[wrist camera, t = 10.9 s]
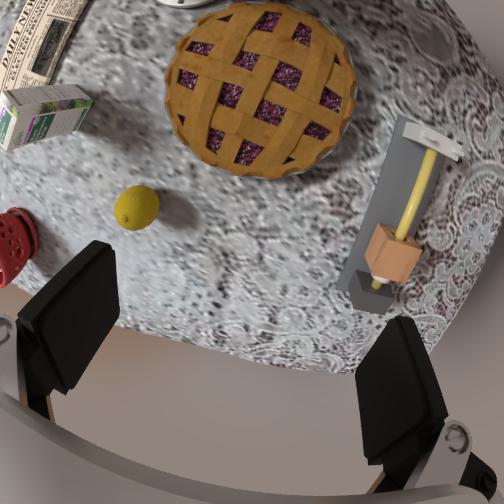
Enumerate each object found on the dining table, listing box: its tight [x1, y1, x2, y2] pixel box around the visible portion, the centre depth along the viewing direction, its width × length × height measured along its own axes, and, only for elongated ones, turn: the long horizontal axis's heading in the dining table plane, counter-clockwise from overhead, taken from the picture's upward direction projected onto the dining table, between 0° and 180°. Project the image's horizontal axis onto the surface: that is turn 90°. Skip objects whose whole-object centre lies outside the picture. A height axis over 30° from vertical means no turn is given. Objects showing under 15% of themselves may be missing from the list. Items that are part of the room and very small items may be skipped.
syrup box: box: [0, 84, 94, 151], centre depth 26 cm, size 6×6×14 cm
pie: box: [164, 1, 359, 180], centre depth 28 cm, size 22×22×5 cm
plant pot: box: [0, 207, 38, 288], centre depth 39 cm, size 13×13×12 cm
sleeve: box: [364, 223, 422, 284], centre depth 33 cm, size 5×5×5 cm
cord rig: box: [336, 115, 464, 315], centre depth 32 cm, size 26×8×7 cm, turn 168°
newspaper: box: [0, 0, 89, 98], centre depth 24 cm, size 37×19×3 cm, turn 147°
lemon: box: [115, 185, 160, 231], centre depth 35 cm, size 6×6×8 cm
